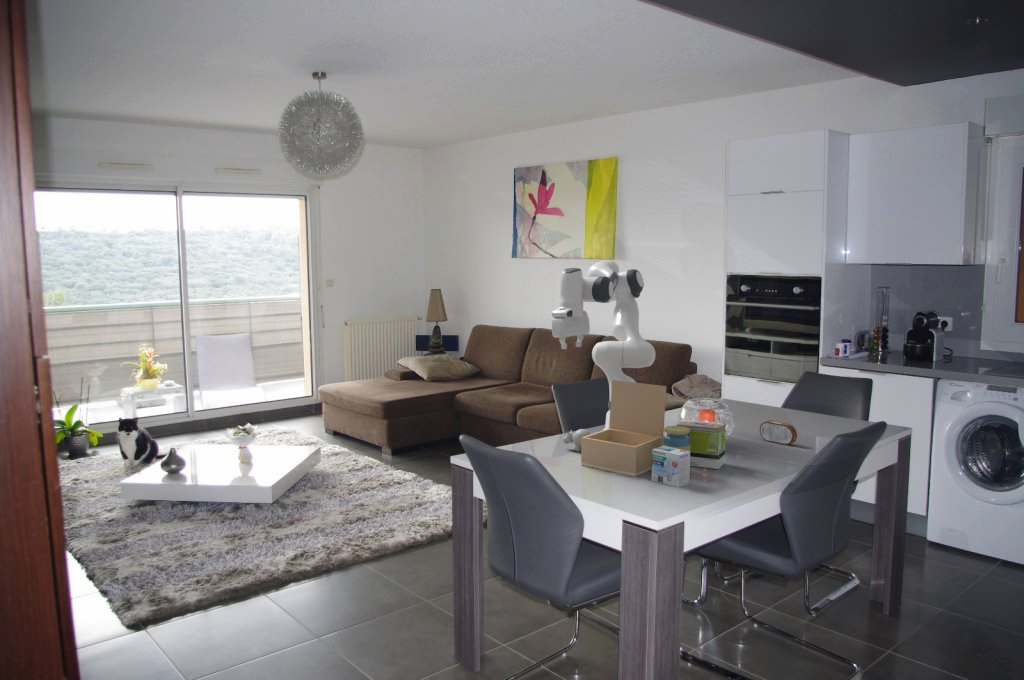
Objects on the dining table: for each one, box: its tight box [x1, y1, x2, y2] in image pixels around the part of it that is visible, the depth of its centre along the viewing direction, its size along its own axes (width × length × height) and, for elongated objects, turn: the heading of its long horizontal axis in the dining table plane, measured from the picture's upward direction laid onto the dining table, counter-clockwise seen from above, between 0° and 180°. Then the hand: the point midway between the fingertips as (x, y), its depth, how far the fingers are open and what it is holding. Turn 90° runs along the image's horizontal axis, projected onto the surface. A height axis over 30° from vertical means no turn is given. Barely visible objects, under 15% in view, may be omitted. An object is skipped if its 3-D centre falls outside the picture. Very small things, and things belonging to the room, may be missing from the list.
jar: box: [662, 425, 690, 451], centre depth 251 cm, size 9×9×15 cm
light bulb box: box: [651, 445, 691, 488], centre depth 240 cm, size 11×7×11 cm, turn 45°
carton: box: [580, 429, 663, 477], centre depth 260 cm, size 18×22×10 cm
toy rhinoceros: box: [562, 428, 592, 453], centre depth 281 cm, size 7×12×8 cm, turn 57°
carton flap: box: [609, 380, 667, 438], centre depth 268 cm, size 18×22×5 cm
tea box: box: [676, 419, 726, 470], centre depth 260 cm, size 15×10×15 cm
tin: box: [759, 419, 798, 446], centre depth 290 cm, size 15×3×8 cm, turn 40°
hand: (571, 348), depth 278 cm, fingers open, 8 cm apart
